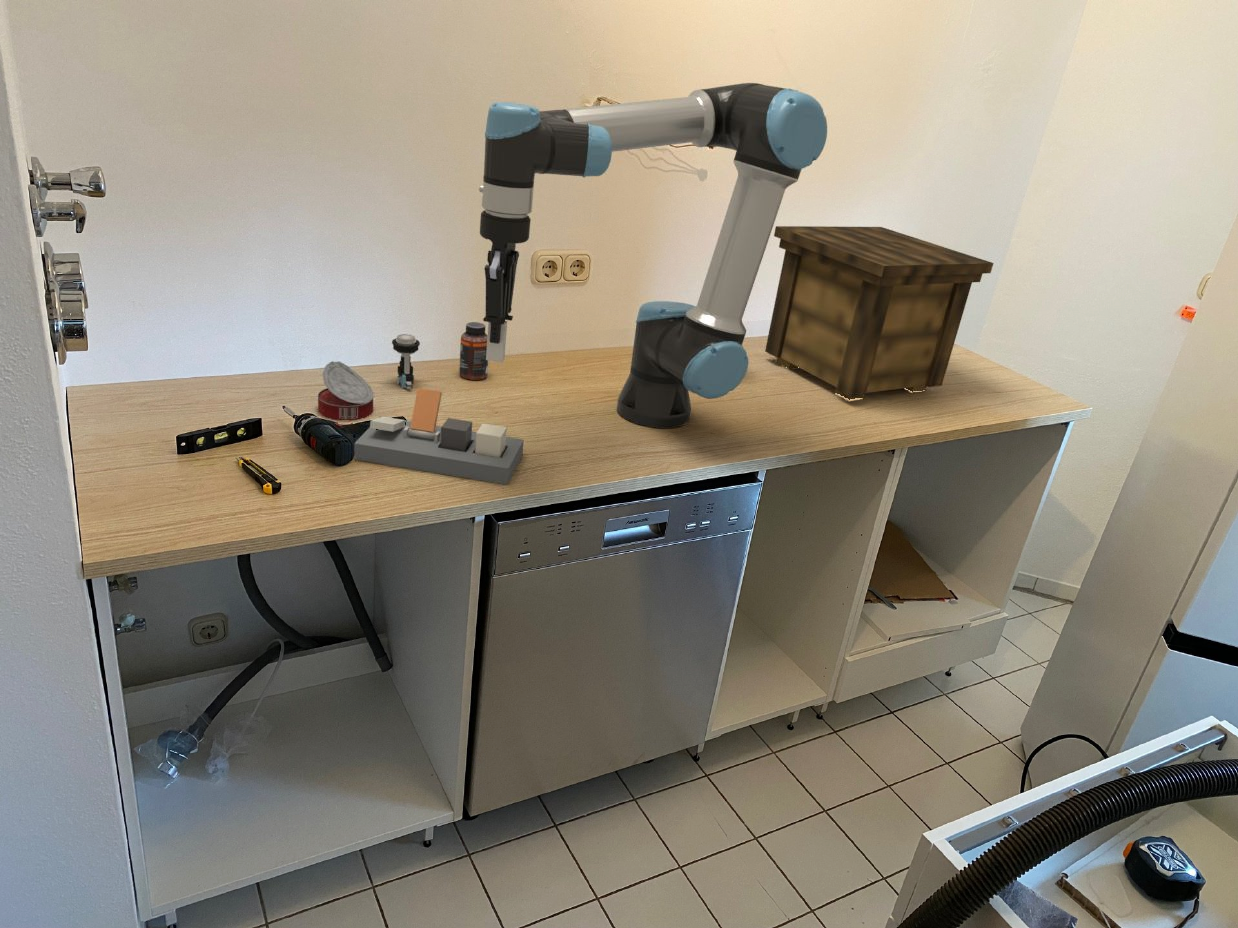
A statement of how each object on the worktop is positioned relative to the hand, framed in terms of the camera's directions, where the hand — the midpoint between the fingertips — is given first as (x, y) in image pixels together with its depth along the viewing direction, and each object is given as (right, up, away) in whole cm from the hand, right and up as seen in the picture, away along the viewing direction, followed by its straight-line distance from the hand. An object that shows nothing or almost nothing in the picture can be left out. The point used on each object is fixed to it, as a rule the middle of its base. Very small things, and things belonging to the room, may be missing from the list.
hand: (495, 359), depth 147 cm
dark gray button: (-8, -14, +7) cm, 18 cm away
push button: (-23, -1, +36) cm, 43 cm away
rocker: (-19, -10, +7) cm, 23 cm away
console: (-10, -16, +9) cm, 21 cm away
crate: (+77, +4, +76) cm, 108 cm away
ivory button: (-2, -15, +7) cm, 17 cm away
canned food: (-31, -7, +22) cm, 38 cm away
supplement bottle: (-11, +2, +45) cm, 46 cm away
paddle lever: (-13, -12, +7) cm, 19 cm away
